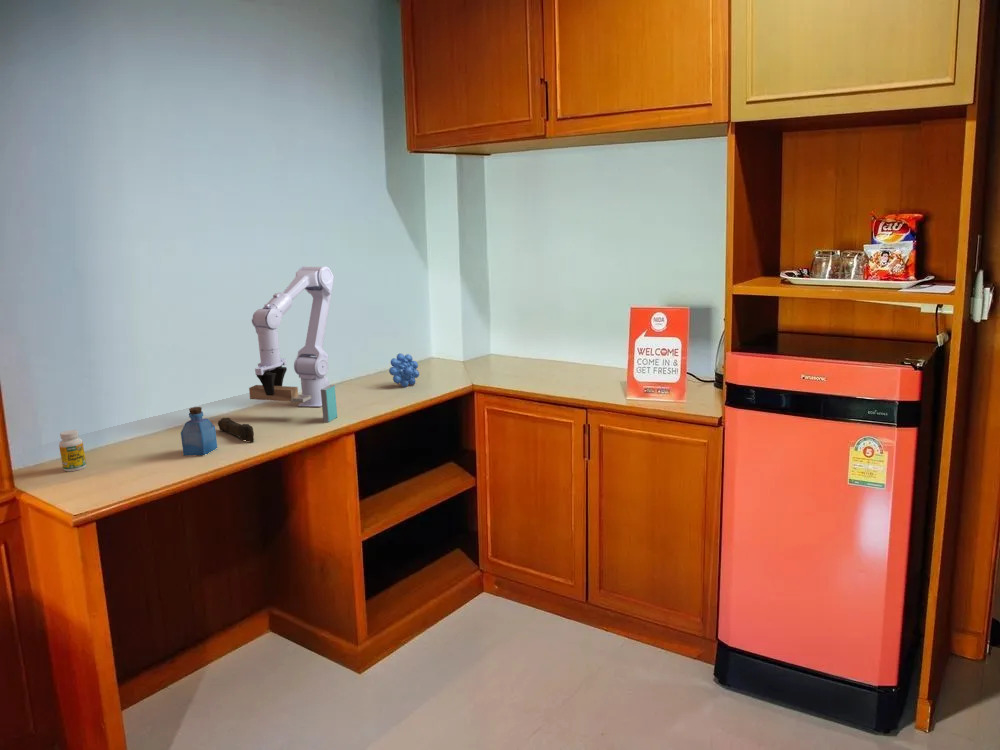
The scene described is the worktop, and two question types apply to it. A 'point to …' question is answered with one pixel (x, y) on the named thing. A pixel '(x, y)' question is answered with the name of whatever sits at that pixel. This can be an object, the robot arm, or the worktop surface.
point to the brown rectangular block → (278, 394)
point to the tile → (329, 403)
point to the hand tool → (237, 429)
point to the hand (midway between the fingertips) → (274, 393)
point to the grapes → (404, 370)
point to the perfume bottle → (198, 434)
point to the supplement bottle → (72, 451)
